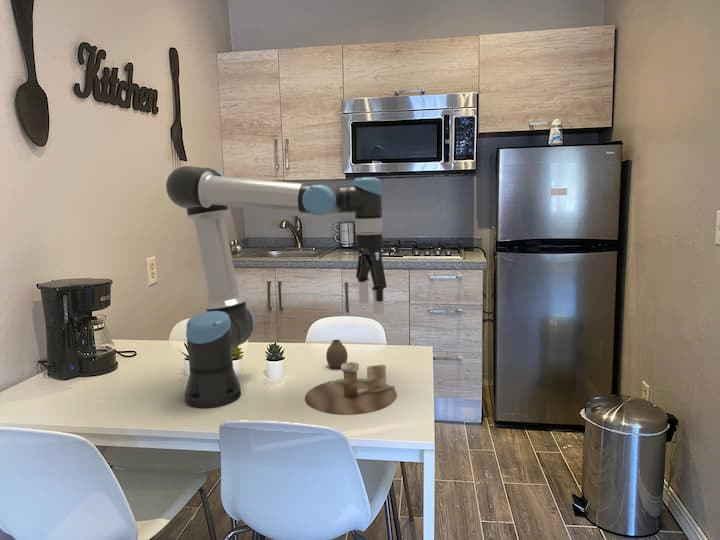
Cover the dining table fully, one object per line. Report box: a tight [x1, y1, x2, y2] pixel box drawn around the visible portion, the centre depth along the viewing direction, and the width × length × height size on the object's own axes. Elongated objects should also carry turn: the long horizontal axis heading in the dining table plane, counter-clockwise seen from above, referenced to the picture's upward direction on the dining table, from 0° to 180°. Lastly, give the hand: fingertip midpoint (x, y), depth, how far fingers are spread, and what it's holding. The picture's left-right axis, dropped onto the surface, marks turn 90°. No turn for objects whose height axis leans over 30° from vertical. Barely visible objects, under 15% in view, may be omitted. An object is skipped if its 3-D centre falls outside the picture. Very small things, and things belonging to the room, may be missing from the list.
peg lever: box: [340, 361, 395, 397], centre depth 137 cm, size 15×5×8 cm, turn 106°
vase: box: [326, 339, 348, 369], centre depth 164 cm, size 7×7×9 cm
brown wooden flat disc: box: [304, 378, 398, 416], centre depth 137 cm, size 25×25×1 cm
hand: (371, 307), depth 143 cm, fingers open, 13 cm apart
